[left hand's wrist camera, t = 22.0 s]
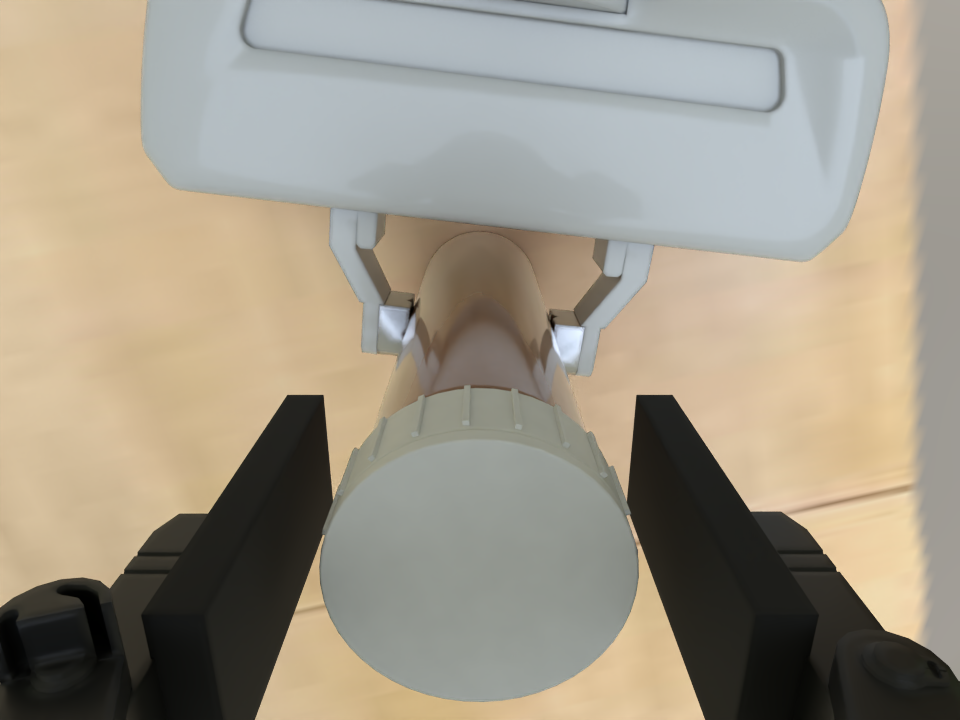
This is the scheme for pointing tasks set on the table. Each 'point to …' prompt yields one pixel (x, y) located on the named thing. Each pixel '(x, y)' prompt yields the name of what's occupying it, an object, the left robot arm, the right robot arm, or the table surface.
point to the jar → (479, 329)
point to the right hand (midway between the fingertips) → (477, 359)
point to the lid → (479, 547)
